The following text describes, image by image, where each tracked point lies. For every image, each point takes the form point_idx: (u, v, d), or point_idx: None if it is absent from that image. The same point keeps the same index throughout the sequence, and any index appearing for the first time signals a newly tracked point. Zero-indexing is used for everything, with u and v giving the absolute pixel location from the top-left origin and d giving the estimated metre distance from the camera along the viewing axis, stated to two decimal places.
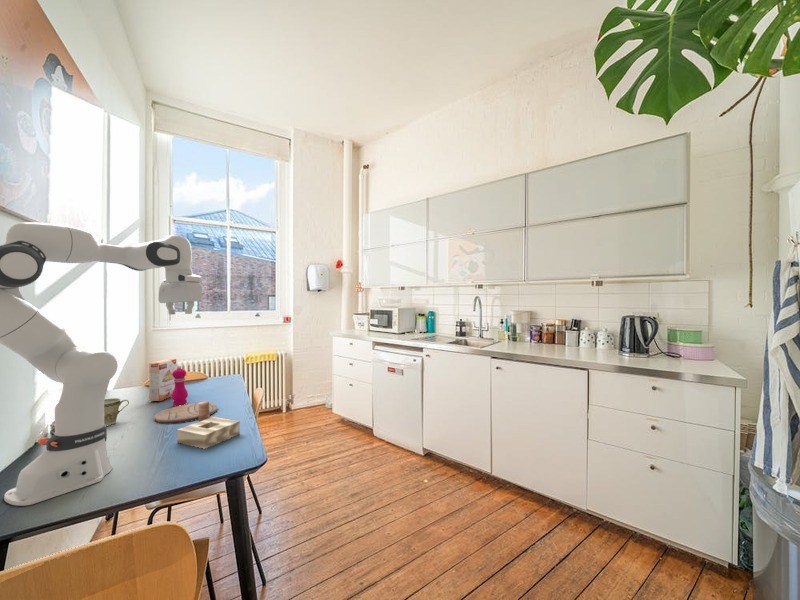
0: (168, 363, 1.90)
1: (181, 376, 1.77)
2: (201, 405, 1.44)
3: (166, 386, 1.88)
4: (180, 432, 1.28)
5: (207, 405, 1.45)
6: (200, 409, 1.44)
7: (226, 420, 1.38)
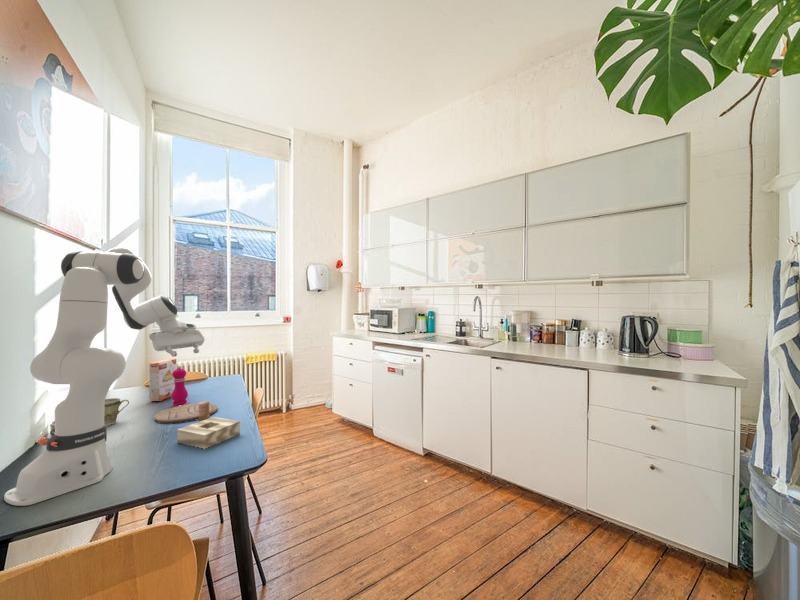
0: (168, 363, 1.90)
1: (181, 376, 1.77)
2: (201, 405, 1.44)
3: (166, 386, 1.88)
4: (180, 432, 1.28)
5: (207, 405, 1.45)
6: (200, 409, 1.44)
7: (226, 420, 1.38)
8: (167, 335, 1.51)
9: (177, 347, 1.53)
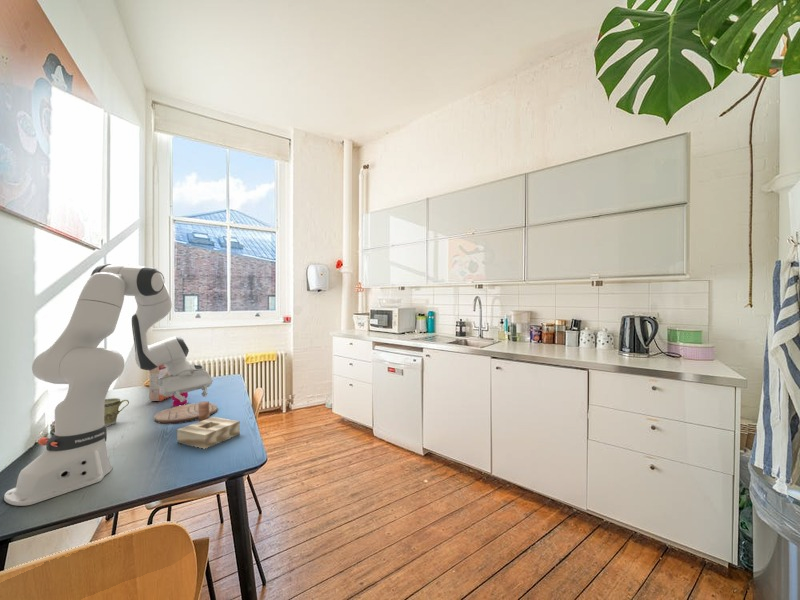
0: None
1: None
2: (201, 405, 1.44)
3: None
4: (180, 432, 1.28)
5: (207, 405, 1.45)
6: (200, 409, 1.44)
7: (226, 420, 1.38)
8: (175, 379, 1.48)
9: (185, 391, 1.50)
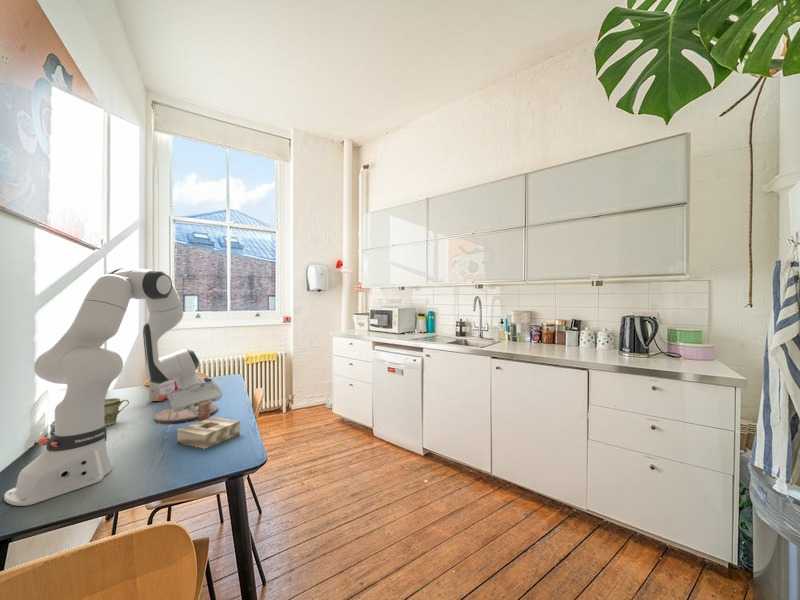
0: None
1: None
2: (201, 405, 1.44)
3: (166, 386, 1.88)
4: (180, 432, 1.28)
5: (207, 405, 1.45)
6: (200, 409, 1.44)
7: (226, 420, 1.38)
8: (185, 393, 1.44)
9: (195, 405, 1.46)
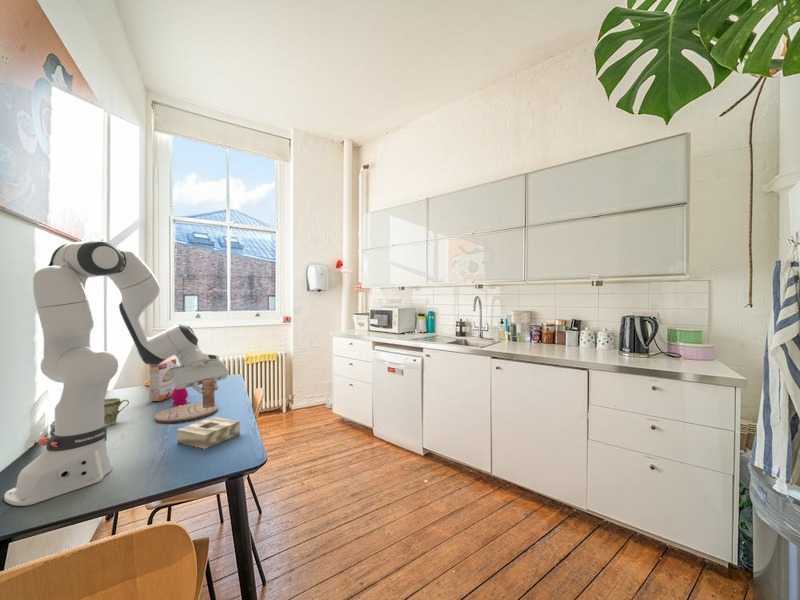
0: (168, 363, 1.90)
1: None
2: (205, 382, 1.31)
3: (166, 386, 1.88)
4: (180, 432, 1.28)
5: (212, 383, 1.32)
6: (204, 387, 1.31)
7: (226, 420, 1.38)
8: (188, 370, 1.31)
9: (199, 383, 1.33)
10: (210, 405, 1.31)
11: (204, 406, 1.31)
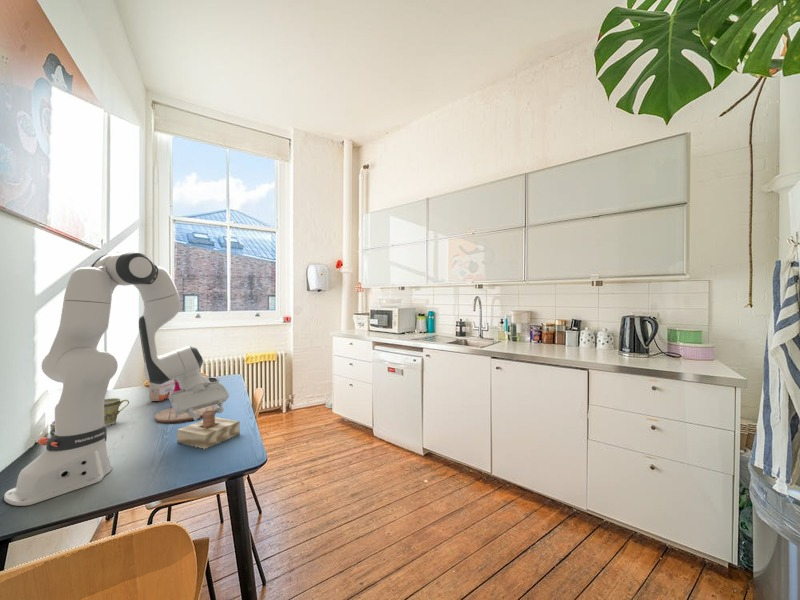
0: None
1: None
2: (206, 415, 1.30)
3: (166, 386, 1.88)
4: (180, 432, 1.28)
5: (213, 415, 1.32)
6: (205, 420, 1.30)
7: (226, 420, 1.38)
8: (188, 394, 1.31)
9: (199, 407, 1.33)
10: None
11: None
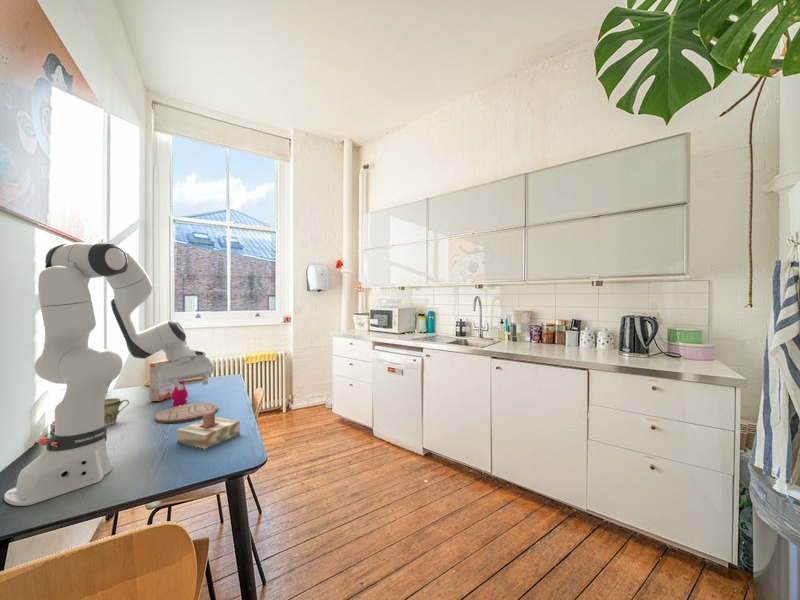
0: None
1: None
2: (206, 415, 1.30)
3: (166, 386, 1.88)
4: (180, 432, 1.28)
5: (213, 415, 1.32)
6: (205, 419, 1.30)
7: (226, 420, 1.38)
8: (174, 365, 1.36)
9: (184, 378, 1.38)
10: None
11: None
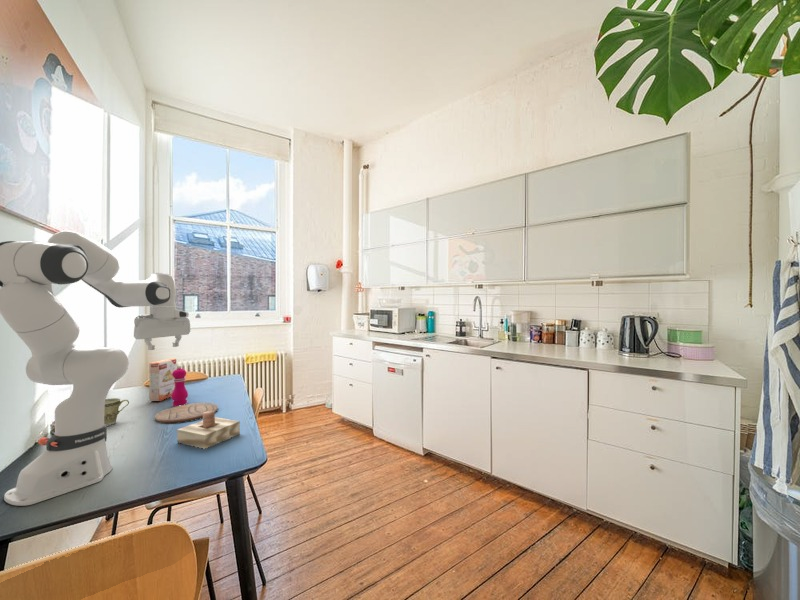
0: (168, 363, 1.90)
1: (181, 376, 1.77)
2: (206, 415, 1.30)
3: (166, 386, 1.88)
4: (180, 432, 1.28)
5: (213, 415, 1.32)
6: (205, 420, 1.30)
7: (226, 420, 1.38)
8: (154, 323, 1.34)
9: None
10: None
11: None
